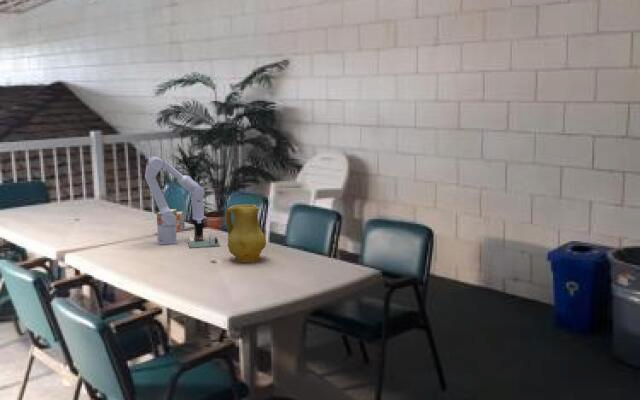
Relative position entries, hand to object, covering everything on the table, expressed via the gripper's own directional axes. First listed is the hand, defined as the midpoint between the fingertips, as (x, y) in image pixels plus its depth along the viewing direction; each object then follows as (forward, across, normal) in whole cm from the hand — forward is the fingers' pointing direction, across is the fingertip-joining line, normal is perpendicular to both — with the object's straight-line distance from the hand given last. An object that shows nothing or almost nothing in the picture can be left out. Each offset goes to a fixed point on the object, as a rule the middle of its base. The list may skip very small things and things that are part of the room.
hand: (198, 234), depth 336 cm
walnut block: (+2, 0, 0) cm, 2 cm away
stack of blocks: (+3, +27, +13) cm, 30 cm away
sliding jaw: (+2, -12, -6) cm, 14 cm away
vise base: (+3, -12, -2) cm, 12 cm away
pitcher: (+3, -46, -18) cm, 50 cm away
